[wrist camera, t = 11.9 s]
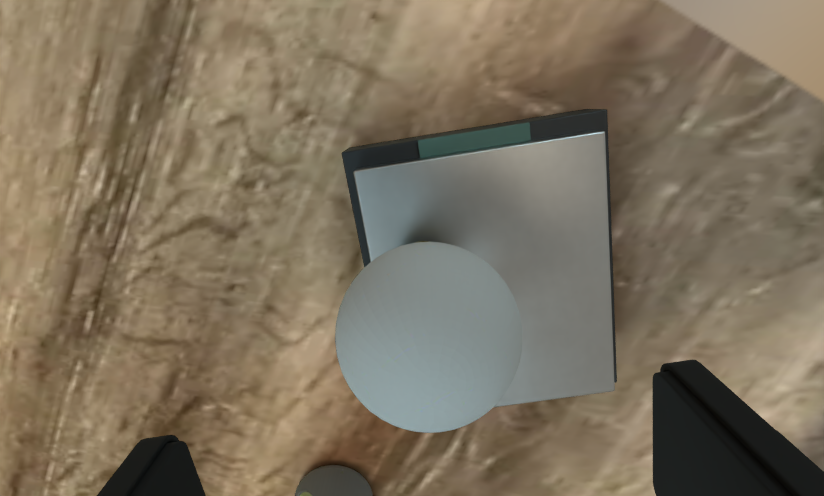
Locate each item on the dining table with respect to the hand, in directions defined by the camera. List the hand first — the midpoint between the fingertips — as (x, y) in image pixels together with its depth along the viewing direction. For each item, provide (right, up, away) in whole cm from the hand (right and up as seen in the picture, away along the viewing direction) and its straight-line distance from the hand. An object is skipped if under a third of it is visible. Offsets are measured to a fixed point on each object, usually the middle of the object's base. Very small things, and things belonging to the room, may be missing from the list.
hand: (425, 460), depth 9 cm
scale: (+4, +4, +16) cm, 17 cm away
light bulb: (0, +4, +13) cm, 13 cm away
